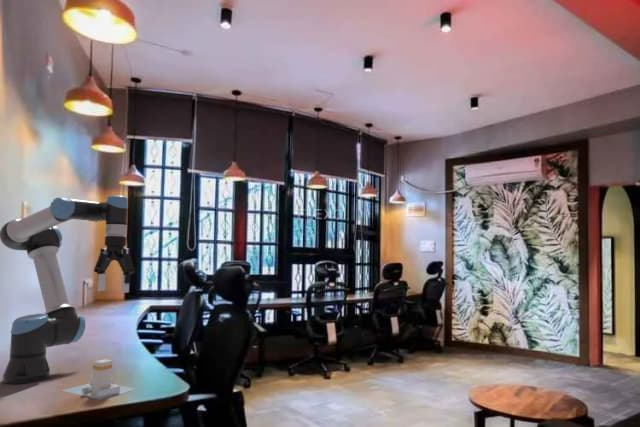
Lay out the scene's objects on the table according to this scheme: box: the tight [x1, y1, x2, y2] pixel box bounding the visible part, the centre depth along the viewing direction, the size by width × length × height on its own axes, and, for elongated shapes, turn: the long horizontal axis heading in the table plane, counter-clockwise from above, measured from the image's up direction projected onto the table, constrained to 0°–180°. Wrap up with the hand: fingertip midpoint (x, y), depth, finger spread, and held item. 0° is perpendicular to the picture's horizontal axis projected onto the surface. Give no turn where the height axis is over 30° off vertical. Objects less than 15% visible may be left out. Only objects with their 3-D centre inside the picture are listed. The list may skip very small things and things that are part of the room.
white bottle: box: [91, 358, 113, 394], centre depth 154 cm, size 4×4×10 cm
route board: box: [60, 382, 137, 401], centre depth 159 cm, size 20×14×1 cm
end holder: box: [81, 383, 121, 400], centre depth 154 cm, size 8×8×2 cm
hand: (112, 291), depth 179 cm, fingers open, 13 cm apart
